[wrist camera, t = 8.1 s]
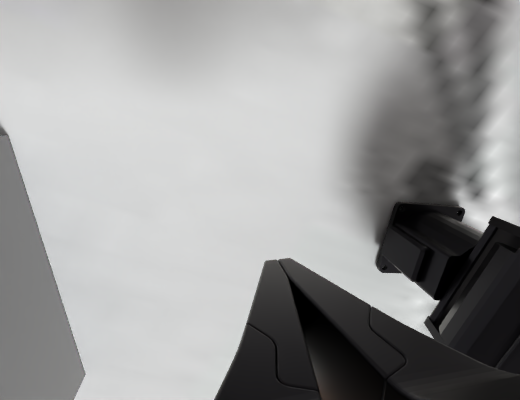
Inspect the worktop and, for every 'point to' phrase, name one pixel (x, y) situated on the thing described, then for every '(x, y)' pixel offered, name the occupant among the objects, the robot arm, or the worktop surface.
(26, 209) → the switch box
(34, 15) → the worktop surface
